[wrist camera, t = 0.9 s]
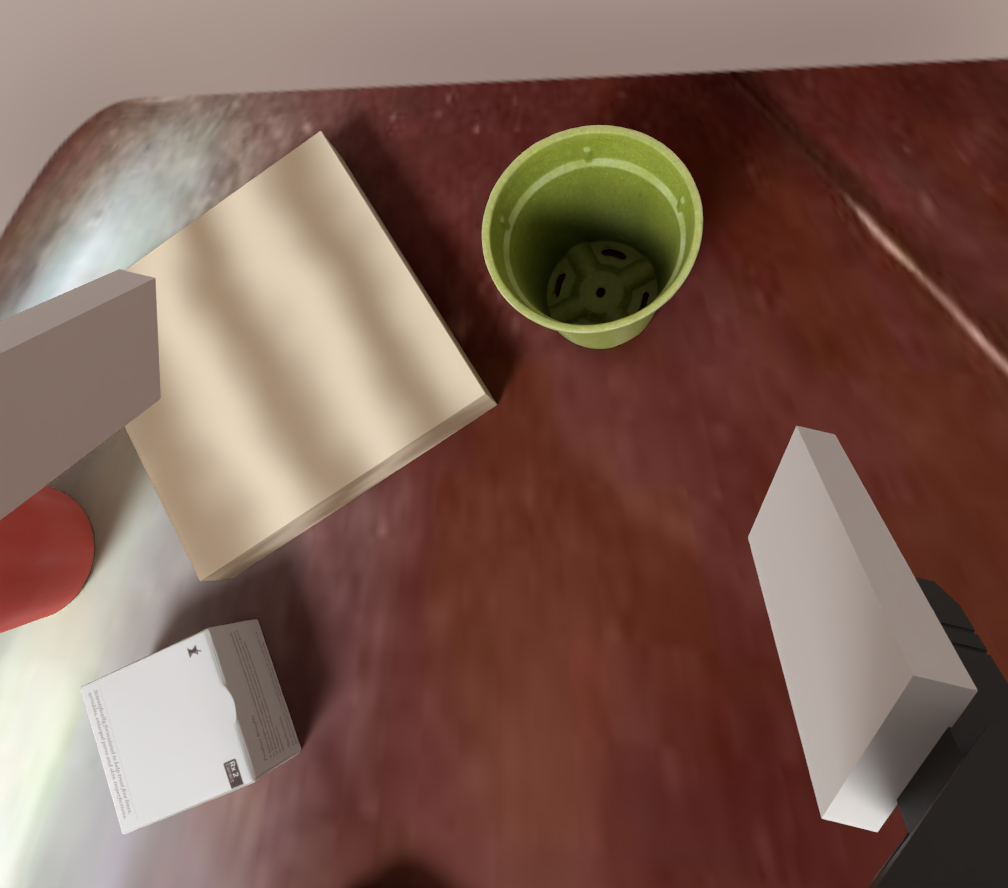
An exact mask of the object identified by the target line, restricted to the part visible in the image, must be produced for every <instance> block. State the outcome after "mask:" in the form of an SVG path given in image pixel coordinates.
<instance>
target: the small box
mask: <svg viewBox="0 0 1008 888" xmlns="http://www.w3.org/2000/svg"><path fill="white" fill-rule="evenodd" d="M81 692H82V696H83V699H84V703H85V706H86V709H87V713H88V716H89V720H90V723H91V727H92V730H93V733H94V737H95V740H96V743H97V747H98V750H99V754H100V757H101V761H102V764H103V767H104V771H105V774H106V778H107V781H108V785H109V788H110V792H111V795H112V799H113V802H114V806H115V809H116V813H117V816H118V820H119V824H120V827H121V831H122V834H127V833H130V832H132V831H134V830H137V829H140V828H142V827H145V826H147V825H150V824H152V823H155V822H158V821H160V820H163V819H165V818H168V817H170V816H173V815H175V814H178V813H180V812H183V811H185V810H188V809H190V808H193V807H195V806H198V805H200V804H203V803H205V802H208V801H210V800H213V799H215V798H218V797H220V796H222V795H225V794H227V793H230V792H232V791H235V790H237V789H239V788H242V787H244V786H247V785H249V784H252V783H254V782H256V781H257V780H259V779H260V778H261V777H263V776H264V775H266V774H267V773H269V772H270V771H272V770H273V769H275V768H277V767H278V766H280V765H282V764H283V763H285V762H286V761H288V760H290V759H291V758H293V757H294V756H296V755H297V754H299V753H300V752H301V746H300V743H299V741H298V738H297V735H296V732H295V728H294V725H293V722H292V720H291V717H290V714H289V711H288V708H287V705H286V702H285V699H284V696H283V693H282V690H281V687H280V684H279V681H278V678H277V675H276V672H275V669H274V666H273V663H272V660H271V657H270V655H269V651H268V648H267V646H266V643H265V640H264V637H263V634H262V631H261V628H260V625H259V622H258V620H257V619H253V620H247V621H241V622H236V623H232V624H227V625H221V626H216V627H209V628H206V629H204V630H202V631H200V632H198V633H196V634H194V635H191V636H189V637H187V638H185V639H183V640H181V641H179V642H176V643H174V644H172V645H170V646H168V647H166V648H164V649H162V650H159V651H157V652H155V653H153V654H151V655H149V656H147V657H144V658H142V659H140V660H138V661H136V662H134V663H131V664H129V665H127V666H125V667H123V668H121V669H119V670H117V671H114V672H112V673H110V674H108V675H106V676H104V677H102V678H99V679H97V680H95V681H93V682H91V683H88V684H86V685H84V686H82V687H81Z"/></svg>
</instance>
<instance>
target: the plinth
mask: <svg viewBox="0 0 1008 888" xmlns="http://www.w3.org/2000/svg"><path fill="white" fill-rule="evenodd" d="M125 271H128V272H132V273H137V274H141V275H145V276H150V277H154V278H156V301H157V323H158V346H159V369H160V391H161V399H160V400H159V401H157V402H156V403H155V404H153V405H152V406H151V407H149V408H148V409H147V410H145V411H144V412H143V413H141V414H140V415H139V416H137V417H136V418H135V419H133V420H132V421H131V422H129V423H128V424H127V425H125V426H124V427H125V429H126V431H127V433H128V435H129V437H130V439H131V441H132V443H133V445H134V447H135V449H136V451H137V453H138V456H139V458H140V460H141V462H142V464H143V466H144V468H145V470H146V472H147V474H148V476H149V478H150V480H151V482H152V484H153V486H154V488H155V490H156V492H157V494H158V496H159V498H160V500H161V502H162V505H163V507H164V509H165V511H166V513H167V515H168V517H169V519H170V521H171V523H172V525H173V527H174V529H175V531H176V533H177V535H178V537H179V539H180V541H181V543H182V545H183V547H184V549H185V551H186V554H187V556H188V558H189V560H190V562H191V564H192V566H193V568H194V570H195V572H196V574H197V576H198V578H199V580H200V581H213V580H227V579H233V578H234V577H236V576H237V575H239V574H240V573H242V572H243V571H245V570H246V569H248V568H249V567H251V566H252V565H254V564H255V563H257V562H258V561H260V560H261V559H263V558H265V557H266V556H268V555H269V554H271V553H272V552H274V551H275V550H277V549H278V548H280V547H281V546H283V545H284V544H286V543H287V542H289V541H290V540H292V539H293V538H295V537H297V536H298V535H300V534H301V533H303V532H304V531H306V530H307V529H309V528H310V527H312V526H313V525H315V524H316V523H318V522H319V521H321V520H322V519H324V518H326V517H327V516H329V515H330V514H332V513H333V512H335V511H336V510H338V509H339V508H341V507H342V506H344V505H345V504H347V503H348V502H350V501H351V500H353V499H354V498H356V497H358V496H359V495H361V494H362V493H364V492H365V491H367V490H368V489H370V488H371V487H373V486H374V485H376V484H377V483H379V482H380V481H382V480H383V479H385V478H386V477H388V476H390V475H391V474H393V473H394V472H396V471H397V470H399V469H400V468H402V467H403V466H405V465H406V464H408V463H409V462H411V461H412V460H414V459H415V458H417V457H419V456H420V455H422V454H423V453H425V452H426V451H428V450H429V449H431V448H432V447H434V446H435V445H437V444H438V443H440V442H441V441H443V440H444V439H446V438H447V437H449V436H451V435H452V434H454V433H455V432H457V431H458V430H460V429H461V428H463V427H464V426H466V425H467V424H469V423H470V422H472V421H473V420H475V419H476V418H478V417H479V416H481V415H483V414H484V413H486V412H487V411H489V410H490V409H492V408H493V407H495V406H496V405H497V404H496V402H495V400H494V399H493V397H492V396H491V394H490V392H489V391H488V389H487V388H486V386H485V384H484V383H483V381H482V380H481V378H480V376H479V375H478V373H477V372H476V370H475V368H474V367H473V365H472V364H471V362H470V361H469V359H468V357H467V356H466V354H465V353H464V351H463V349H462V348H461V346H460V345H459V343H458V341H457V340H456V338H455V337H454V335H453V333H452V332H451V330H450V329H449V327H448V325H447V324H446V322H445V321H444V319H443V318H442V316H441V314H440V313H439V311H438V310H437V308H436V306H435V305H434V303H433V302H432V300H431V298H430V297H429V295H428V294H427V292H426V290H425V289H424V287H423V286H422V284H421V283H420V281H419V279H418V278H417V276H416V275H415V273H414V271H413V270H412V268H411V267H410V265H409V263H408V262H407V260H406V259H405V257H404V255H403V254H402V252H401V251H400V249H399V247H398V246H397V244H396V243H395V241H394V240H393V238H392V236H391V235H390V233H389V232H388V230H387V228H386V227H385V225H384V224H383V222H382V220H381V219H380V217H379V216H378V214H377V212H376V211H375V209H374V208H373V206H372V205H371V203H370V201H369V200H368V198H367V197H366V195H365V193H364V192H363V190H362V189H361V187H360V185H359V184H358V182H357V181H356V179H355V177H354V176H353V174H352V173H351V171H350V169H349V168H348V166H347V165H346V163H345V162H344V160H343V158H342V157H341V156H340V155H339V153H338V152H337V151H336V149H335V148H334V147H333V146H332V144H331V143H330V142H329V141H328V139H327V138H326V137H325V136H324V134H323V133H322V132H321V131H320V132H318V133H317V134H315V135H314V136H313V137H311V138H310V139H308V140H307V141H306V142H304V143H303V144H301V145H300V146H299V147H297V148H296V149H294V150H293V151H292V152H290V153H289V154H287V155H286V156H285V157H283V158H282V159H280V160H279V161H278V162H276V163H275V164H273V165H272V166H271V167H269V168H268V169H266V170H265V171H264V172H262V173H261V174H259V175H258V176H257V177H255V178H254V179H252V180H251V181H250V182H248V183H247V184H245V185H244V186H243V187H241V188H240V189H238V190H237V191H236V192H234V193H233V194H231V195H230V196H229V197H227V198H226V199H224V200H223V201H222V202H220V203H219V204H217V205H216V206H215V207H213V208H212V209H210V210H209V211H207V212H206V213H205V214H203V215H202V216H200V217H199V218H198V219H196V220H195V221H193V222H192V223H191V224H189V225H188V226H186V227H185V228H184V229H182V230H181V231H179V232H178V233H177V234H175V235H174V236H172V237H171V238H170V239H168V240H167V241H165V242H164V243H163V244H161V245H160V246H158V247H157V248H156V249H154V250H153V251H151V252H150V253H149V254H147V255H146V256H144V257H143V258H142V259H140V260H139V261H137V262H136V263H135V264H133V265H132V266H130V267H129V268H128V269H126V270H125Z"/></svg>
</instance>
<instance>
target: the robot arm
mask: <svg viewBox="0 0 1008 888" xmlns="http://www.w3.org/2000/svg"><path fill="white" fill-rule="evenodd" d="M160 399H161V391H160V369H159V346H158V323H157V301H156V278H154V277H150V276H145V275H141V274H137V273H132V272H128V271H124V270H117V271H115V272H112V273H110V274H108V275H105V276H103V277H101V278H98V279H96V280H94V281H92V282H89V283H87V284H85V285H82V286H80V287H78V288H76V289H73V290H71V291H69V292H66V293H64V294H62V295H59V296H57V297H55V298H53V299H50V300H48V301H46V302H43V303H41V304H39V305H37V306H34V307H32V308H30V309H27V310H25V311H23V312H20V313H18V314H16V315H14V316H11V317H9V318H7V319H4V320H2V321H0V520H1V519H3V518H4V517H5V516H6V515H8V514H9V513H10V512H12V511H13V510H14V509H16V508H17V507H18V506H20V505H21V504H22V503H24V502H25V501H26V500H28V499H29V498H30V497H32V496H33V495H34V494H36V493H37V492H38V491H40V490H41V489H42V488H43V487H45V486H46V485H47V484H49V483H50V482H51V481H53V480H54V479H55V478H57V477H58V476H59V475H61V474H62V473H63V472H65V471H66V470H67V469H69V468H70V467H71V466H73V465H74V464H75V463H77V462H78V461H79V460H81V459H82V458H83V457H84V456H86V455H87V454H88V453H90V452H91V451H92V450H94V449H95V448H96V447H98V446H99V445H100V444H102V443H103V442H104V441H106V440H107V439H108V438H110V437H111V436H112V435H114V434H115V433H116V432H118V431H119V430H120V429H121V428H123V427H124V426H125V425H127V424H128V423H129V422H131V421H132V420H133V419H135V418H136V417H137V416H139V415H140V414H141V413H143V412H144V411H145V410H147V409H148V408H149V407H151V406H152V405H153V404H155V403H156V402H157V401H159V400H160ZM748 539H749V543H750V547H751V550H752V554H753V558H754V562H755V566H756V570H757V573H758V577H759V581H760V585H761V589H762V593H763V596H764V600H765V604H766V608H767V612H768V615H769V619H770V623H771V627H772V631H773V635H774V638H775V642H776V646H777V650H778V654H779V658H780V661H781V665H782V669H783V673H784V677H785V680H786V684H787V688H788V692H789V696H790V700H791V703H792V707H793V711H794V715H795V719H796V723H797V726H798V730H799V734H800V738H801V742H802V745H803V749H804V753H805V757H806V761H807V765H808V768H809V772H810V776H811V780H812V784H813V788H814V791H815V795H816V799H817V803H818V807H819V810H820V814H821V818H822V819H826V820H830V821H834V822H838V823H842V824H846V825H850V826H854V827H858V828H862V829H866V830H870V831H874V832H878V831H879V829H880V828H881V826H882V825H883V824H884V822H885V821H886V819H887V818H888V817H889V815H890V814H891V812H892V811H893V810H894V808H895V807H896V805H897V804H898V806H899V808H900V811H901V814H902V816H903V819H904V822H905V825H906V827H907V830H908V833H907V835H906V836H905V837H904V839H903V840H902V841H901V843H900V844H899V845H898V847H897V848H896V849H895V851H894V852H893V853H892V855H891V856H890V858H889V859H888V860H887V862H886V863H885V864H884V866H883V867H882V868H881V870H880V871H879V872H878V874H877V875H876V876H875V878H874V879H873V880H872V881H873V882H872V884H871V885H870V887H869V888H1008V684H1007V682H1006V680H1005V679H1004V677H1003V676H1002V674H1001V672H1000V671H999V669H998V667H997V666H996V664H995V662H994V661H993V659H992V658H991V656H990V655H987V654H986V652H987V649H986V648H985V646H984V644H983V643H982V641H981V639H980V638H979V636H978V635H975V634H974V631H975V630H974V628H973V626H972V625H971V623H970V621H969V620H968V618H967V617H966V615H965V613H964V612H963V610H962V608H961V607H960V605H958V604H957V603H956V602H955V601H954V600H953V599H952V598H951V597H950V596H949V595H948V594H947V593H946V592H945V591H944V590H943V589H941V588H940V587H939V586H938V585H937V584H936V583H935V582H933V581H929V580H925V579H920V578H916V577H914V575H913V574H912V572H911V570H910V568H909V566H908V565H907V563H906V561H905V559H904V557H903V556H902V554H901V552H900V550H899V548H898V547H897V545H896V543H895V541H894V539H893V538H892V536H891V534H890V532H889V531H888V529H887V527H886V525H885V523H884V522H883V520H882V518H881V516H880V514H879V513H878V511H877V509H876V507H875V505H874V504H873V502H872V500H871V498H870V496H869V495H868V493H867V491H866V489H865V488H864V486H863V484H862V482H861V480H860V479H859V477H858V475H857V473H856V471H855V470H854V468H853V466H852V464H851V462H850V461H849V459H848V457H847V455H846V453H845V452H844V450H843V448H842V446H841V444H840V443H839V441H838V439H837V437H836V436H835V434H830V433H826V432H821V431H817V430H813V429H808V428H804V427H800V426H796V428H795V430H794V432H793V435H792V437H791V439H790V442H789V444H788V446H787V449H786V451H785V453H784V456H783V458H782V460H781V463H780V465H779V467H778V469H777V472H776V474H775V476H774V479H773V481H772V483H771V486H770V488H769V490H768V493H767V495H766V497H765V500H764V502H763V504H762V506H761V509H760V511H759V513H758V516H757V518H756V520H755V523H754V525H753V527H752V530H751V532H750V534H749V536H748Z"/></svg>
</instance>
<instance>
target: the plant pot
mask: <svg viewBox="0 0 1008 888" xmlns="http://www.w3.org/2000/svg"><path fill="white" fill-rule="evenodd" d="M702 232H703V210H702V203H701V198H700V195H699V192H698V189H697V187H696V184H695V182H694V180H693V178H692V176H691V174H690V172H689V171H688V169H687V167H686V166H685V165H684V164H683V162H682V161H681V160H680V159H679V158H678V157H677V156H676V154H675V153H674V152H673V151H671V150H670V149H669V148H668V147H666V146H665V145H664V144H662V143H661V142H659V141H657V140H656V139H654V138H652V137H650V136H648V135H646V134H644V133H641V132H639V131H636V130H631V129H627V128H623V127H617V126H609V125H590V126H582V127H578V128H573V129H568V130H565V131H561V132H559V133H556V134H554V135H551V136H549V137H547V138H545V139H543V140H541V141H539V142H537V143H535V144H533V145H532V146H531V147H530V148H528V149H527V150H525V151H524V152H523V153H522V154H521V155H519V156H518V157H517V158H516V159H515V160H514V161H513V162H512V163H511V164H510V165H509V167H508V168H507V169H506V170H505V171H504V173H503V174H502V175H501V177H500V178H499V180H498V181H497V183H496V185H495V186H494V188H493V190H492V192H491V195H490V197H489V200H488V203H487V206H486V210H485V213H484V218H483V224H482V246H483V253H484V257H485V262H486V265H487V268H488V271H489V273H490V275H491V277H492V279H493V281H494V283H495V285H496V286H497V288H498V290H499V291H500V293H501V294H502V295H503V297H504V298H505V299H506V300H507V301H508V302H509V303H510V304H511V305H512V306H513V307H514V308H515V309H516V310H517V311H519V312H520V313H521V314H522V315H524V316H525V317H527V318H528V319H530V320H532V321H534V322H536V323H538V324H540V325H542V326H544V327H547V328H550V329H553V330H557V331H558V332H559V333H560V334H562V335H563V336H564V337H565V338H567V339H568V340H570V341H572V342H573V343H575V344H578V345H580V346H583V347H588V348H595V349H604V348H611V347H615V346H617V345H620V344H622V343H625V342H627V341H629V340H630V339H632V338H634V337H635V336H637V335H638V334H640V333H641V332H642V331H643V330H644V329H645V327H646V326H647V325H648V324H649V322H650V321H651V319H652V318H653V316H654V314H655V311H656V310H658V309H659V308H660V307H662V306H663V305H664V304H665V303H666V302H667V301H668V300H669V299H670V298H671V297H672V296H673V295H674V294H675V293H676V292H677V291H678V289H679V288H680V287H681V285H682V284H683V283H684V281H685V280H686V278H687V277H688V275H689V273H690V271H691V269H692V267H693V265H694V262H695V260H696V257H697V254H698V251H699V248H700V244H701V239H702ZM606 249H613V250H616V251H620V252H622V253H623V254H625V256H626V259H624V260H622V259H619V258H616V257H614V256H609V255H603V254H602V253H601V252H602V251H603V250H606ZM563 273H564V274H566V276H565V279H564V281H563V283H562V285H561V289H560V294H559V296H556V294H555V293H554V291H555V286H556V282H557V279H558V277H559V276H560V275H561V274H563ZM599 288H604V289H605V295H604V296H603V297H598V296H597V295H596V291H597V290H598V289H599ZM645 292H647V293H648V294H649V298H648V301H647V307H645V308H643V309H642V310H640V311H639V308H640V306H641V302H642V299H643V293H645Z"/></svg>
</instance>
